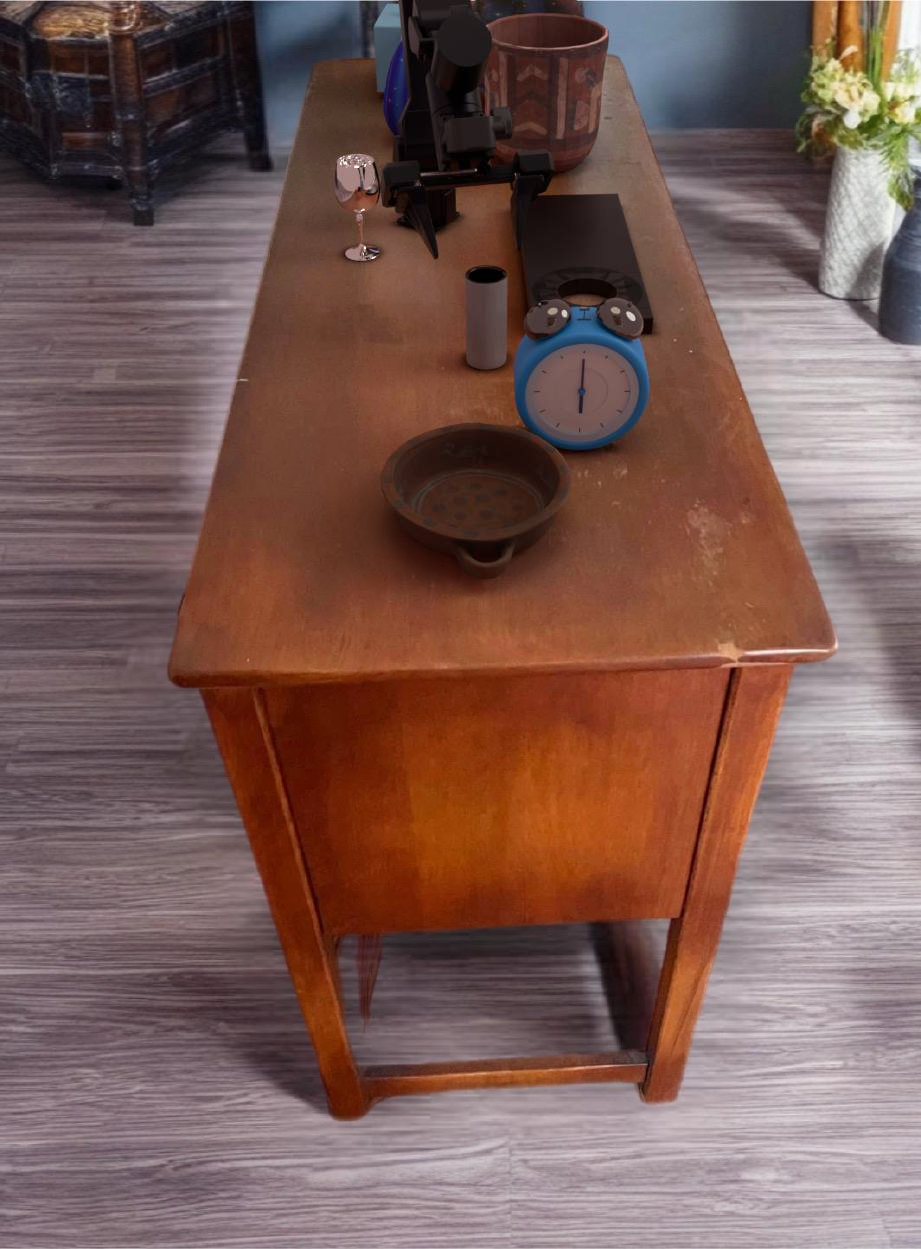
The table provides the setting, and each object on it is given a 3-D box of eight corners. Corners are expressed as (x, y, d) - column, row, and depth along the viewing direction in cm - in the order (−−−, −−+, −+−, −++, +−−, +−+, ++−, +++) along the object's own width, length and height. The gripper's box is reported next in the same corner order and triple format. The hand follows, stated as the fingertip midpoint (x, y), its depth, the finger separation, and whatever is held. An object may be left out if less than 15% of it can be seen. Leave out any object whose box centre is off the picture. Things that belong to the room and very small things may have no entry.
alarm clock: (513, 454, 120) (515, 317, 110) (512, 421, 124) (514, 287, 114) (644, 453, 119) (658, 316, 109) (638, 420, 124) (651, 286, 114)
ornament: (399, 124, 190) (394, 23, 180) (454, 129, 188) (452, 27, 178) (377, 149, 182) (370, 45, 172) (434, 154, 180) (431, 49, 170)
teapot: (442, 110, 195) (439, 19, 186) (375, 108, 196) (369, 17, 187) (458, 67, 211) (456, -19, 202) (396, 66, 212) (391, -19, 203)
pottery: (573, 132, 186) (579, 7, 174) (619, 172, 174) (629, 40, 162) (466, 146, 182) (465, 19, 170) (506, 189, 170) (507, 55, 158)
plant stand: (515, 210, 165) (516, 195, 163) (616, 207, 165) (617, 193, 163) (531, 336, 138) (531, 320, 136) (652, 333, 138) (653, 318, 136)
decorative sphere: (459, 91, 201) (456, -40, 188) (576, 87, 202) (582, -45, 189) (466, 132, 187) (464, -8, 174) (592, 127, 188) (600, -13, 175)
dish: (384, 597, 103) (380, 552, 100) (382, 456, 120) (379, 413, 116) (583, 588, 104) (586, 543, 101) (555, 448, 120) (556, 405, 117)
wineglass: (392, 248, 156) (386, 156, 148) (371, 266, 152) (364, 172, 144) (353, 241, 158) (346, 149, 150) (332, 258, 154) (323, 165, 146)
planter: (502, 372, 132) (503, 285, 125) (462, 368, 132) (461, 282, 126) (509, 352, 135) (510, 266, 128) (470, 348, 136) (469, 263, 129)
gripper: (376, 85, 122) (398, 233, 121) (553, 71, 124) (576, 216, 123) (371, 137, 133) (391, 272, 132) (534, 123, 135) (554, 256, 134)
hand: (477, 254), depth 130 cm, fingers open, 9 cm apart
